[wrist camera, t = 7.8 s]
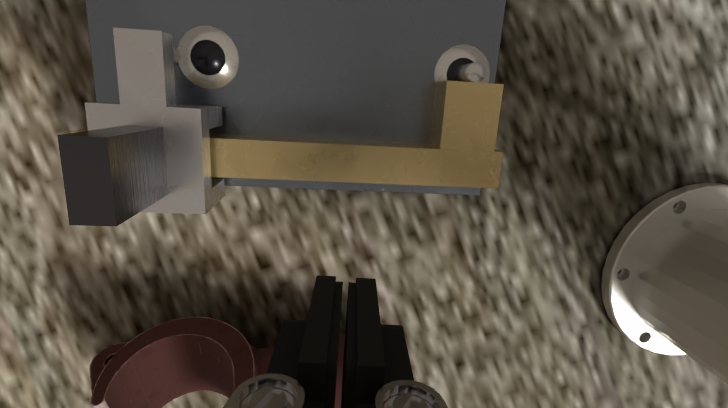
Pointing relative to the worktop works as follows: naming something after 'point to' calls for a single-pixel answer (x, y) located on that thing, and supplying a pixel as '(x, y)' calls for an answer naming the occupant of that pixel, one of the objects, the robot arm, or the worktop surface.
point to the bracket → (180, 364)
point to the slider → (141, 142)
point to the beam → (384, 146)
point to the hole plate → (310, 65)
